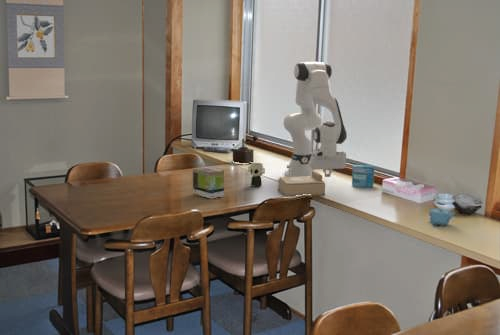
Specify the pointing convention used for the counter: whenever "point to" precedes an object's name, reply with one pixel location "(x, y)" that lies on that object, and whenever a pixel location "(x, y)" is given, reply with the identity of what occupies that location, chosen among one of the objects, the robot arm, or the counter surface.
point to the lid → (303, 179)
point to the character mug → (256, 173)
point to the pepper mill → (244, 152)
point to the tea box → (208, 182)
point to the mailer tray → (301, 188)
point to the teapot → (440, 217)
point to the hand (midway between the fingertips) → (327, 176)
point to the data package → (363, 176)
